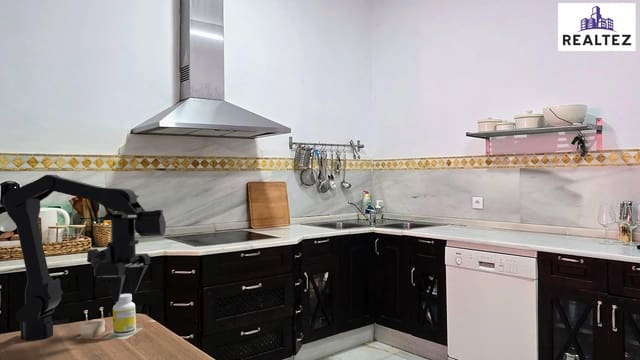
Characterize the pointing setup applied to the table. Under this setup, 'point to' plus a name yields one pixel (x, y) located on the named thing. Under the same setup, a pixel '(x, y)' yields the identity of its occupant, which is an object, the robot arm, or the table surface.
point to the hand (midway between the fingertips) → (124, 297)
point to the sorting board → (110, 335)
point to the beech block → (92, 328)
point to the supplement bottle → (124, 316)
